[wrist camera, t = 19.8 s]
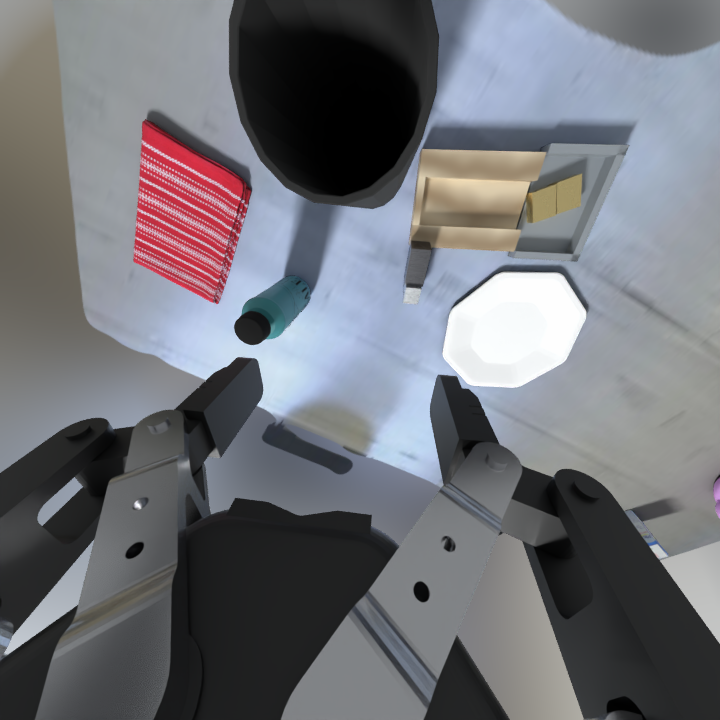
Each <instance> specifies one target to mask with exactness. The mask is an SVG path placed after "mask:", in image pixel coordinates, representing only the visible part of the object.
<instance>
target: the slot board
mask: <svg viewBox="0 0 720 720" xmlns="http://www.w3.org/2000/svg"><path fill="white" fill-rule="evenodd" d="M545 155H546V152H520V151H479V150H438V149H422V150H421V152H420V156H419V164H418V172H417V181H416V189H415V197H414V205H413V213H412V221H411V229H410V237H409V246H410V242H411V240H412V241H424V242H430V244H431V247H432V248H452V249H472V250H491V251H511V252H514V251H515V248H516V245H517V242H518V239H519V236H520V233H521V230H519V229H516V227H517V223H518V220H519V217H520V214H521V210H522V207H523V204H524V201H525V198H526V194H527V191H528V188H529V185H530V182H532V181H537V180H538V177H539V174H540V171H541V168H542V165H543V162H544V159H545Z"/></svg>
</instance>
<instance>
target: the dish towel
mask: <svg viewBox="0 0 720 720" xmlns="http://www.w3.org/2000/svg"><path fill="white" fill-rule="evenodd" d="M141 142H142V148H141V159H140V176H139V179H140V183H139V191H138V206H137V219H136V234H135V244H134V259H133V260H134V262H135V263H138V264H140V265H142V266H144V267H146V268H148V269H150V270H152V271H153V272H155V273H157V274H159V275H161V276H163V277H165V278H167V279H168V280H170V281H172V282H174V283H176V284H178V285H180V286H182V287H183V288H185V289H187V290H189V291H191V292H193V293H195V294H197V295H199V296H201V297H202V298H204V299H206V300H209V301H210V302H212V303H216V304H218V303H219V300H220V298H221V296H222V292H223V289H224V286H225V283H226V280H227V277H228V274H229V271H230V267H231V264H232V260H233V256H234V253H235V250H236V246H237V242H238V239H239V236H240V231H241V228H242V225H243V222H244V219H245V215H246V211H247V208H248V202H249V198H250V194H251V190H250V188H249V187H248V186H247V184H246V183H245V181H244V180H243V179H242V178H241V177H239V176H238V175H236V174H235V173H233V172H232V171H231V170H229V169H227V168H226V167H224V166H222V165H221V164H219V163H217V162H215V161H213V160H211V159H209V158H207V157H205V156H203V155H201V154H199V153H197V152H196V151H194V150H192V149H191V148H189V147H188V146H186V145H185V144H183V143H182V142H180V141H178V140H177V139H176V138H174V137H173V136H171V135H170V134H168V133H167V132H165V131H164V130H162V129H161V128H159V127H158V126H157V125H155V124H154V123H153V122H150V121H148V120H146V119H145V121H143V123H142V140H141Z"/></svg>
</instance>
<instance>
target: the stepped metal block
mask: <svg viewBox="0 0 720 720" xmlns="http://www.w3.org/2000/svg"><path fill="white" fill-rule="evenodd" d="M431 251H432V249H431V244H430V242H424V241H412V240H411V242H410V247H409V253H408V258H407V264H406V269H405V275H404V286H403V303H408V304H418V301H419V297H420V293H421V287H423V284H424V280H425V276H426V272H427V267H428V263H429V259H430V255H431Z"/></svg>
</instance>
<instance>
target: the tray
mask: <svg viewBox="0 0 720 720" xmlns="http://www.w3.org/2000/svg"><path fill="white" fill-rule="evenodd" d="M628 147H629V145H604V144H559V143H551V144H549V145H546V146H544V147H542V148H541V152H546V155H545V159H544V162H543V165H542V168H541V171H540V174H539V177H538V180H537V181H532V182H531V183H530V187H529V190H528V193H529V192H532V191H534V190H537V189H540V188H543V187H545V186H548V185H549V184H551V183H554V182H556V181H559V180H562V179H564V178H567V177H570V176H572V175H577V174H582V189H581V206H580V207H577V208H574V209H571V210H568V211H565V212H562V213H560V214H556V216H553V217H550V218H547V219H544V220H541V221H538V222H535V223H527V215H526V199H525V203H524V206H523V209H522V212H521V215H520V219H519V222H518V225H517V228H516V229H519V230H521V233H520V236H519V239H518V242H517V245H516V248H515V251H514V252H511V251H509V254H508V256H510V257H512V258H521V259H539V260H558V261H578V259H579V256H580V254H581V252H582V250H583V247H584V245H585V243H586V241H587V239H588V236H589V234H590V232H591V230H592V227H593V225H594V223H595V221H596V218H597V216H598V214H599V212H600V210H601V207H602V205H603V203H604V201H605V198H606V196H607V194H608V192H609V190H610V187H611V185H612V183H613V181H614V178H615V176H616V174H617V172H618V170H619V167H620V165H621V163H622V161H623V158H624V156H625V154H626V152H627V149H628Z"/></svg>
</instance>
